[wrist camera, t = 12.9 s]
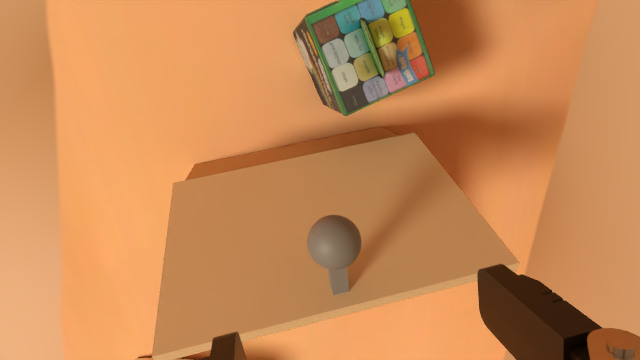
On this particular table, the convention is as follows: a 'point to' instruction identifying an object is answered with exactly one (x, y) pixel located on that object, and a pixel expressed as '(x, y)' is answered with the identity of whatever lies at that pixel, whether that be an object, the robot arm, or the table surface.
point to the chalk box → (362, 51)
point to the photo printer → (153, 359)
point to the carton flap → (314, 242)
